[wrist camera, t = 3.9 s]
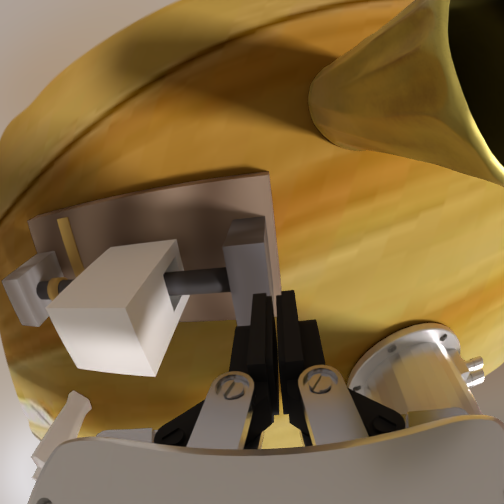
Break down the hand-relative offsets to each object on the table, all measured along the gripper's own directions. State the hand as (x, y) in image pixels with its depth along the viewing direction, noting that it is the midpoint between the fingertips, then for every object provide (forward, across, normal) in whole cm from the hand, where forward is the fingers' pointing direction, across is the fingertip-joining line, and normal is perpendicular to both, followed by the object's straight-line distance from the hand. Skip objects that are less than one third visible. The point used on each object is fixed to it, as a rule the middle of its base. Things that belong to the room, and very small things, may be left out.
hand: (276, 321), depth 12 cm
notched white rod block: (+6, +8, 0) cm, 10 cm away
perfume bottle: (+9, +28, +20) cm, 36 cm away
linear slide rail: (+9, +10, 0) cm, 13 cm away
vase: (+9, -6, -9) cm, 14 cm away
